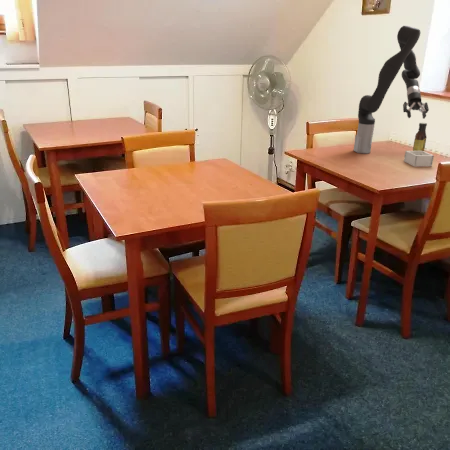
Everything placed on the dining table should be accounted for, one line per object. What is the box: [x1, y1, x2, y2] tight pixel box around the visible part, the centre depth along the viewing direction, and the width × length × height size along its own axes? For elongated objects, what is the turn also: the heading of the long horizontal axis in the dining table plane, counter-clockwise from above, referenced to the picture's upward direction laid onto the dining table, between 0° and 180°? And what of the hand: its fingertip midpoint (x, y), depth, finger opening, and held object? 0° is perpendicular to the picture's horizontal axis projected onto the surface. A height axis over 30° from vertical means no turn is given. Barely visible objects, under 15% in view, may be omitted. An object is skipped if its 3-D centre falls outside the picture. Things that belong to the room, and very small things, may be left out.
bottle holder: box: [403, 150, 435, 167], centre depth 256 cm, size 10×11×6 cm
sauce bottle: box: [412, 122, 428, 151], centre depth 267 cm, size 7×6×20 cm
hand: (417, 117), depth 273 cm, fingers open, 8 cm apart
